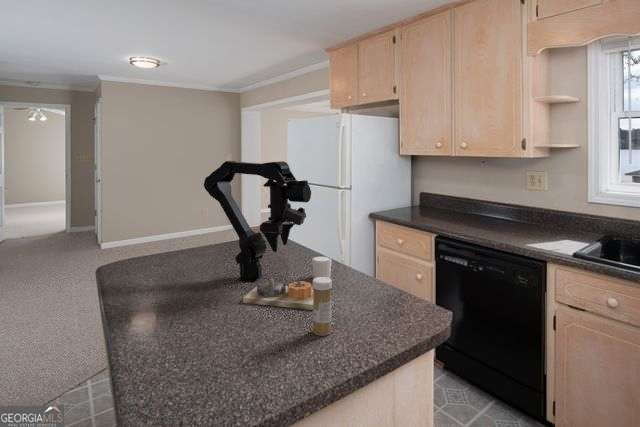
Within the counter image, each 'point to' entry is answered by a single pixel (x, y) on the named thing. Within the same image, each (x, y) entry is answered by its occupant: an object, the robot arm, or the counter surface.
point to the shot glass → (321, 266)
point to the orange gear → (300, 290)
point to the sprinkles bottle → (322, 306)
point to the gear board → (277, 296)
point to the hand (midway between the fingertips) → (280, 248)
